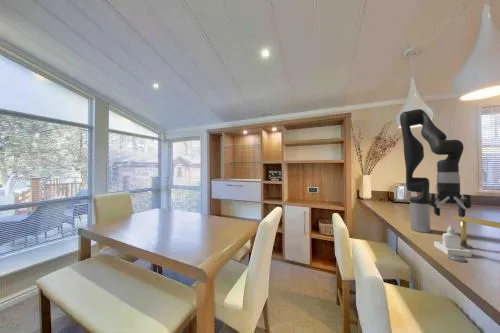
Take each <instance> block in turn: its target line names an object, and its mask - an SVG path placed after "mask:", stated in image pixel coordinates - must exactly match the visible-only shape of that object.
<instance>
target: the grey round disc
mask: <svg viewBox="0 0 500 333" xmlns="http://www.w3.org/2000/svg"><path fill="white" fill-rule="evenodd" d="M448 259H450V260H452V261H454V260H455V262H458V261H459V263H467V259H466V257H465V258H464V257H463V256H455V255H448Z"/></svg>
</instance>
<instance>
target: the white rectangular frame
mask: <svg viewBox="0 0 500 333" xmlns="http://www.w3.org/2000/svg"><path fill="white" fill-rule="evenodd" d="M433 242H434V243H433V244H434V247H435V248H436V249H438V250H440V251H441V252H442V253H444V254H446V255H447V256H449V255H455V256H459V257H463V258H464V257H465V258H472V251H471V250H470V249H468V248H464V247H462V246H461V250H458V249H449V248H447V247H445V246H444V245H443V241H436V240H434V241H433Z"/></svg>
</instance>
